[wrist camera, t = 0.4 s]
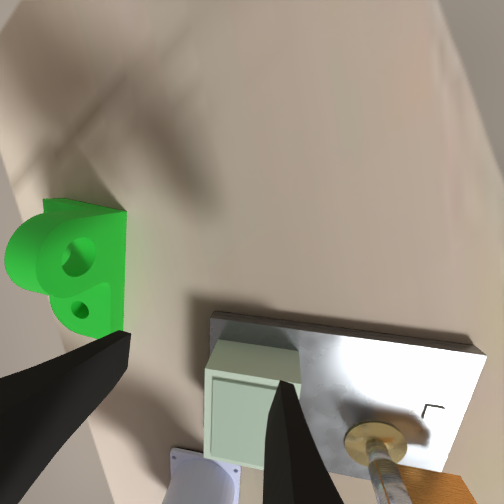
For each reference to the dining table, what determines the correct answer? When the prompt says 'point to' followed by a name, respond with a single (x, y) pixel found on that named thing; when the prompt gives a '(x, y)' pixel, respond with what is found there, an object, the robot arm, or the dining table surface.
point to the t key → (412, 481)
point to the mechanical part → (74, 263)
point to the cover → (243, 399)
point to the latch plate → (369, 388)
